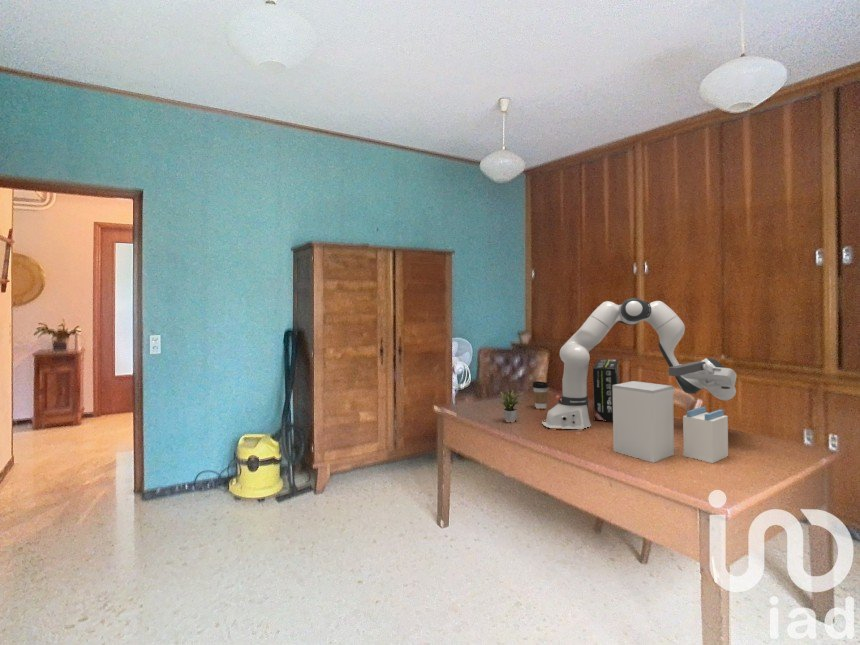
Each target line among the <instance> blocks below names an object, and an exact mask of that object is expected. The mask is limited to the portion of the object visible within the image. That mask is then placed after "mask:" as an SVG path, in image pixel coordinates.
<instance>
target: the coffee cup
mask: <svg viewBox="0 0 860 645" xmlns="http://www.w3.org/2000/svg"><path fill="white" fill-rule="evenodd" d="M548 383H549V382H546V381H536V380H535V381H533V382H532V388H533V401H534V408H535V407H536V408H546V409H547V404H548V403H547V402H548V388H549V384H548Z"/></svg>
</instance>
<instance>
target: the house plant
mask: <svg viewBox="0 0 860 645" xmlns="http://www.w3.org/2000/svg"><path fill="white" fill-rule="evenodd" d="M500 394H501V395H500ZM500 394H499V397H501V399H503V401H499V402H498V404H502V405H503V406H504V407H505V408H503V409H502V412H503V416H504V421H505V420H509V421H514V420H516V421H517V416H518V409H517V407H516V406H515V405H518V404H520V405H522V402H520V399H518V400H517V398H520V396H521V395H523V394H524V392H523V391H522V392H520V393H518V394H517V395H515V396H514V389H512V390H511V393H510V392H509V390H507V394H506V395H505V393H503V392H502V391H500ZM507 395H508V396H507Z"/></svg>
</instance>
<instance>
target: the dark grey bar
mask: <svg viewBox="0 0 860 645" xmlns="http://www.w3.org/2000/svg"><path fill="white" fill-rule="evenodd" d="M701 361H702V360H700V361H697V360H696V361H693V362H688V363H687V362H686V363H683V364H682V365H678V366H673V367H668V376H670V377H672V376H673V377H675V376H680V375H685V374H689V373H693V372H697V371H701V370H703V369H702V368H701V364H706V362H701Z"/></svg>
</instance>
